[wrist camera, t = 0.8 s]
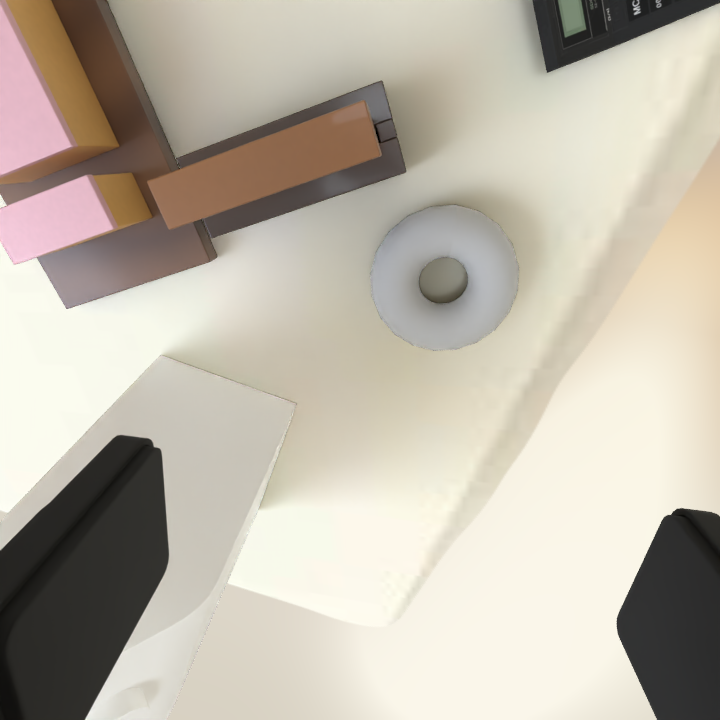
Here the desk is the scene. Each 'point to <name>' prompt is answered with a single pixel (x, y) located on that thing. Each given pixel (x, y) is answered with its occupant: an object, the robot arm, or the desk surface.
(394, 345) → the desk surface
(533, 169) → the desk surface
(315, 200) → the cutter stand
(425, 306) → the donut
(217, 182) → the bar
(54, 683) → the robot arm
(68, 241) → the cake slice
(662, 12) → the calculator
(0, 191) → the cutting board
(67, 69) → the loaf cake
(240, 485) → the milk
